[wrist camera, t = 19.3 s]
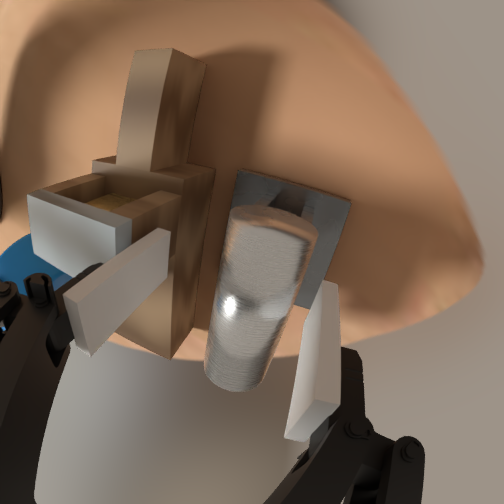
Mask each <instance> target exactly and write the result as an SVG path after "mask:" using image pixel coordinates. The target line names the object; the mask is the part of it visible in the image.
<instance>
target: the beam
mask: <svg viewBox="0 0 504 504" xmlns="http://www.w3.org/2000/svg"><path fill="white" fill-rule="evenodd" d="M205 70H206V64H204V63H202V62H200V61H198V60H196V59H194V58H192V57H190V56H188V55H186V54H184V53H182V52H180V51H178V50H175V49H173V48H167V49H151V50H139V51H135V53H134V56H133V60H132V65H131V69H130V73H129V78H128V83H127V87H126V93H125V98H124V104H123V110H122V116H121V123H120V130H119V138H118V147H117V155H116V156H111V157H106V158H101V159H96V160H93V161H92V174H88V175H84V176H81V177H77V178H74V179H71V180H67V181H64V182H61V183H58V184H55V185H52V186H49V187H46V188H43V189H40V190H37V191H34V192H32V193H29V194H27V203H28V214H29V224H30V231H31V239H32V245H33V251H34V254H36V255H37V256H39V257H40V258H42V259H44V260H45V261H47V262H48V263H50V264H52V265H53V266H55V267H56V268H58V269H60V270H61V271H63V272H65V273H66V274H68V275H70V276H71V277H75V276H76V275H78V274H79V273H82V271H83V270H85V269H86V268H87V267H89V266H91V265H94V264H97V263H100V262H101V263H103V264H105V263H106V262H107V261H109V260H110V259H112V258H113V257H115V256H116V255H117V254H119V253H120V252H122V251H123V250H125V249H126V248H128V247H129V246H131V245H132V244H134V243H135V242H137V241H138V240H140V239H141V238H143V237H144V236H146V235H147V234H149V233H150V232H152V231H153V230H155V229H157V228H161V229H164V230H167V231H170V232H171V235H170V246H169V258H168V273H167V278H166V279H165V280H164V281H163V282H162V283H161V284H160V285H159V286H158V287H157V288H156V289H155V290H154V291H153V292H152V293H151V294H150V295H149V296H148V297H147V298H146V299H145V300H144V301H143V302H142V303H141V304H140V305H139V306H138V307H137V308H136V310H135V311H134V312H133V313H132V314H131V315H130V316H129V317H128V318H127V319H126V320H125V321H124V322H123V323H122V324H121V325H120V326H119V327H118V328H117V329H116V330H115V333H117V334H119V335H121V336H123V337H125V338H126V339H128V340H130V341H132V342H134V343H136V344H138V345H140V346H142V347H144V348H146V349H148V350H150V351H152V352H154V353H156V354H158V355H160V356H162V357H165V358H167V359H169V360H171V358H172V357H173V356H174V354H175V353H176V351H177V350H178V348H179V347H180V346H181V344H182V343H183V341H184V340H185V338H186V337H187V335H188V334H189V333H190V331H191V330H192V328H193V321H194V312H195V304H196V295H197V287H198V279H199V272H200V264H201V257H202V250H203V243H204V237H205V230H206V224H207V218H208V211H209V205H210V200H211V194H212V188H213V182H214V177H215V171H216V169H213V168H209V167H205V166H200V165H196V164H191V163H187V159H188V153H189V147H190V141H191V136H192V130H193V125H194V120H195V115H196V110H197V105H198V100H199V96H200V91H201V87H202V82H203V78H204V74H205ZM111 193H115V194H119V195H122V196H126V197H129V198H133V199H136V200H135V201H133V202H130V203H128V204H125V205H123V206H121V207H118V208H116V209H114V210H111V211H106V210H103V209H100V208H97V207H94V206H91V205H88V204H85V203H87V202H89V201H92V200H94V199H97V198H100V197H102V196H105V195H108V194H111Z"/></svg>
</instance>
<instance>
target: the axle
mask: <svg viewBox="0 0 504 504" xmlns="http://www.w3.org/2000/svg"><path fill="white" fill-rule="evenodd" d="M317 238H318V231H317V229H316V228H315V227H314V226H313V225H312V224H311V223H309V222H308V221H306V220H305V219H303V218H301V217H299V216H297V215H295V214H292V213H290V212H287V211H284V210H281V209H277V208H273V207H268V206H261V205H241V206H237V207H234V208H233V209H231V211H230V214H229V219H228V225H227V230H226V235H225V240H224V246H223V251H222V256H221V262H220V267H219V273H218V279H217V284H216V290H215V296H214V302H213V308H212V314H211V320H210V326H209V332H208V339H207V345H206V352H205V358H204V369H205V373H206V375H207V376H208V378H209V379H210V380H211V381H212V382H213V383H214V384H216V385H217V386H219V387H220V388H223V389H225V390H228V391H233V392H243V391H248V390H251V389H253V388H255V387H257V386H258V385H259V384H260V383H261V382H262V381H263V379H264V376H265V374H266V372H267V369H268V367H269V365H270V362H271V360H272V358H273V355H274V353H275V350H276V348H277V346H278V343H279V341H280V338H281V336H282V333H283V331H284V328H285V326H286V323H287V321H288V318H289V315H290V313H291V310H292V308H293V305H294V302H295V300H296V297H297V294H298V292H299V289H300V286H301V284H302V281H303V278H304V275H305V272H306V270H307V267H308V264H309V261H310V258H311V255H312V253H313V250H314V247H315V244H316V241H317Z"/></svg>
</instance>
